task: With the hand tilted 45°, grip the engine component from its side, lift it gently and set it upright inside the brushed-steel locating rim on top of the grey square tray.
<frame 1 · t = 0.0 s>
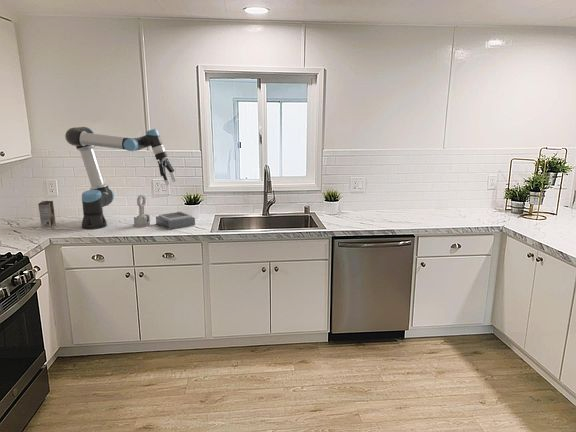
hand: (171, 183, 287), 28 cm above the worktop, tool tilted 20°, fingers open, 13 cm apart
coffee box: (48, 226, 282), on the worktop
grey square tray: (175, 224, 290), on the worktop
engine component: (142, 225, 288), on the worktop
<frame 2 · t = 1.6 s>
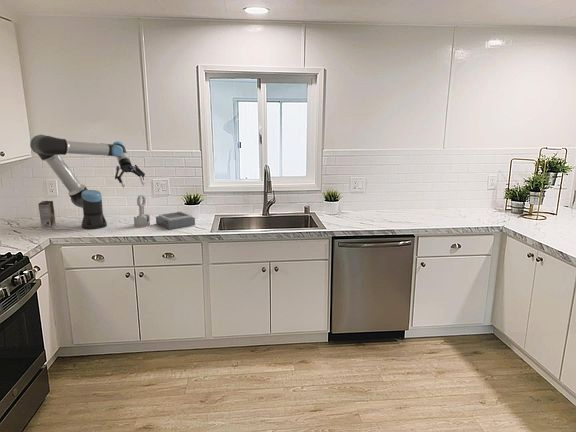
hand: (133, 185, 289), 26 cm above the worktop, tool tilted 45°, fingers open, 13 cm apart
nothing on the worktop moved.
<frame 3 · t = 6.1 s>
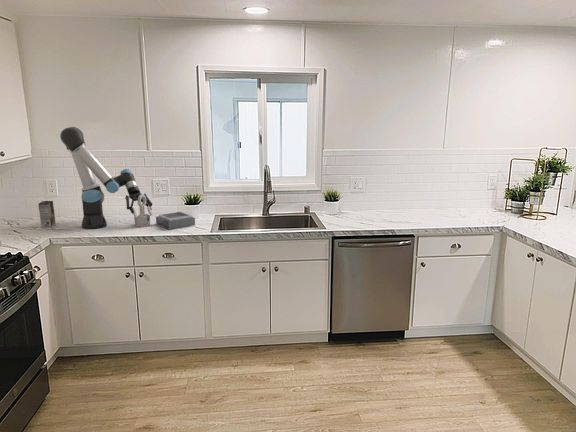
hand: (143, 215, 284), 7 cm above the worktop, tool tilted 45°, fingers closed on engine component, 10 cm apart
engine component: (143, 225, 288), on the worktop, touching gripper
everything else where it was.
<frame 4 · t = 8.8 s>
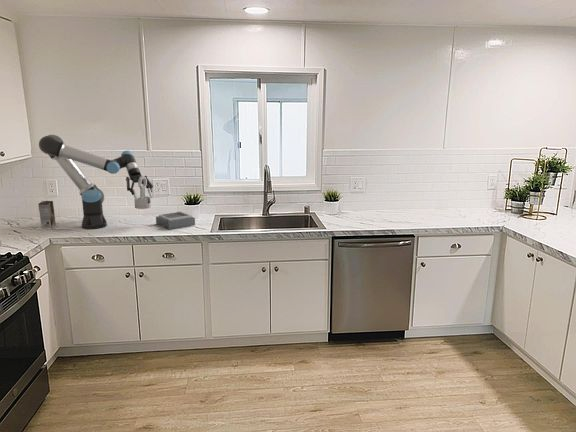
hand: (144, 197, 281), 19 cm above the worktop, tool tilted 45°, fingers closed on engine component, 10 cm apart
engine component: (143, 207, 285), point 12 cm above the worktop, touching gripper
everything else where it was.
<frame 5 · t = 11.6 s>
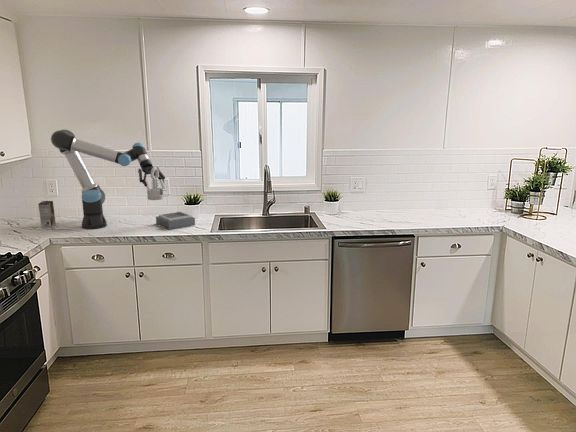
hand: (156, 188, 281), 25 cm above the worktop, tool tilted 45°, fingers closed on engine component, 10 cm apart
engine component: (155, 198, 285), point 18 cm above the worktop, touching gripper
everything else where it was.
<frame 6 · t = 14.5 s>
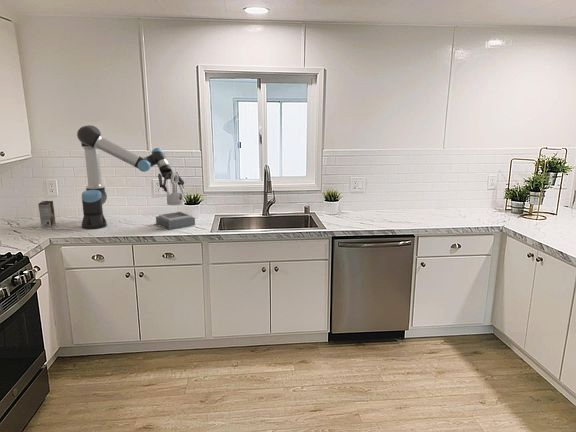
hand: (176, 194, 283), 21 cm above the worktop, tool tilted 45°, fingers closed on engine component, 10 cm apart
engine component: (175, 203, 287), point 14 cm above the worktop, touching gripper
everything else where it was.
when the fingers open (14 cm above the worktop, at t = 17.0 s): engine component drops 2 cm, resting on grey square tray.
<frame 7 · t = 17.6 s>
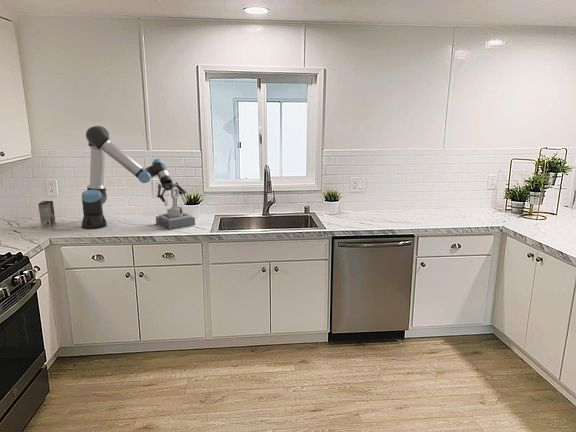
hand: (176, 203, 285), 15 cm above the worktop, tool tilted 45°, fingers open, 13 cm apart
engine component: (175, 217, 290), point 5 cm above the worktop, touching grey square tray
everything else where it was.
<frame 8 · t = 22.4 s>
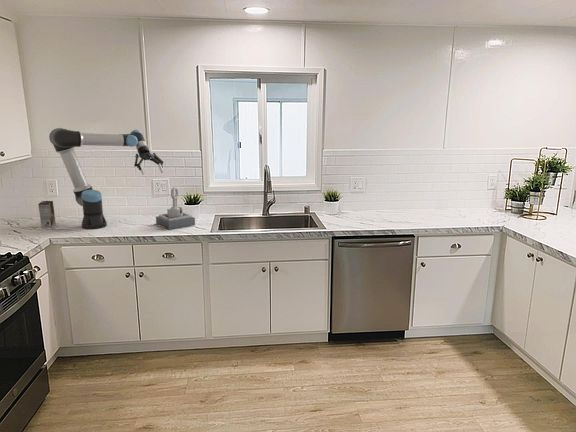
hand: (153, 172, 292), 34 cm above the worktop, tool tilted 45°, fingers open, 13 cm apart
nothing on the worktop moved.
at the end: engine component 0.2 cm off-centre on the grey square tray, point 4.8 cm above the grey square tray's base; engine component tilted 1°; the gripper is holding nothing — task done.
